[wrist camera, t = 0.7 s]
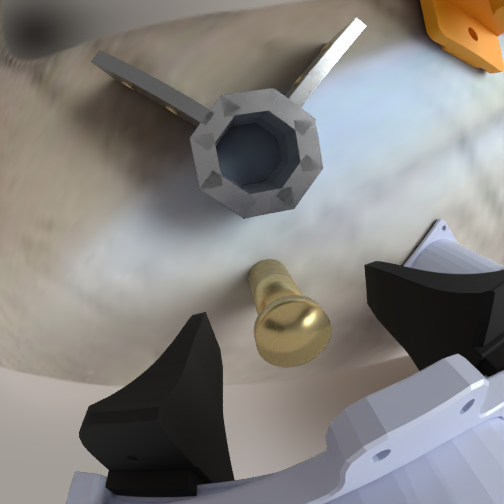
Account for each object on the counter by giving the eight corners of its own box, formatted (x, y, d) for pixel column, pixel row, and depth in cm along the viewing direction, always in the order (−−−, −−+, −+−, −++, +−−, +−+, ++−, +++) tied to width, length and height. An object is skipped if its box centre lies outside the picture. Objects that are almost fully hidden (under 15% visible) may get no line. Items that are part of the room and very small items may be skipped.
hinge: (365, 73, 18) (400, 57, 13) (259, 219, 20) (273, 238, 16) (213, -24, 14) (214, -60, 9) (95, 116, 16) (62, 106, 12)
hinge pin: (304, 272, 22) (345, 328, 15) (270, 310, 23) (295, 376, 15) (265, 242, 21) (293, 289, 13) (230, 282, 22) (240, 346, 14)
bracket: (422, 40, 17) (517, 8, 6) (411, -14, 15) (486, -56, 3) (488, 76, 18) (569, 71, 7) (478, 25, 16) (550, 9, 5)
